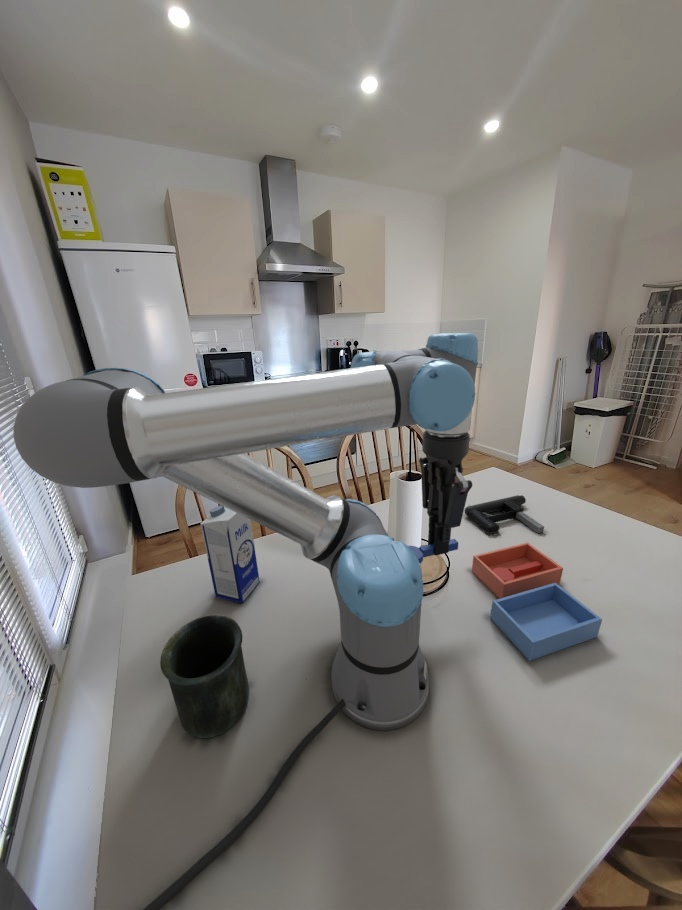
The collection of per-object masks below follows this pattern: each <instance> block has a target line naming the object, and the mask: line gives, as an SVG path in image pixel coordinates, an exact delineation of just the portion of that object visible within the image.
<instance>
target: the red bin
mask: <svg viewBox="0 0 682 910" xmlns="http://www.w3.org/2000/svg"><path fill="white" fill-rule="evenodd" d="M472 556H473V557H472V565H471V572H472V573H473V574H474V575H475V576H476V577H477V578H478V579H479V580H480V581H481V582H482V583H483V584H484V585H485V586H486V587H487V588H488V589H489V590H490V591H491V592H492V593H493V594H494V595H495V596H496V597H497V599H501V598H504V597H508V596H511V595H515V594H518V593H521V592H525V591H528V590H532V589H535V588H539V587H542V586H546V585H549V584H553V583H557V584H558V585H560V584H561V579H562V576H563V571H564V567H562V566H561V565H560V564H558V562H557V563H556V561H555V560H553V559H552V558H550V557H549V556H547V555H546V554H545V553H543V552H542V551H540V550H539V549H538V548H536V547H535V546H533V545H532V544H531V543H529V542H525V543H520V544H516V545H512V546H508V547H504V548H499V549H496V550H492V551H487V552H484V553H480V554H476V555H472ZM535 561H538V562H540V563H541V564H542V568H541V571H537V572H533V573H530V574H526V575H522V576H519V577H515V578H514V580H510V581H507V582H504V581H503V580H502V579H501V578H500V577H499V576H497V575H496V574H495V573H494V572H493V571H492V570H493V569H494V568H497V567H502V568H506V569H508V570H509V568H512V567H516V566H520V565H523V564H527V563H531V562H535Z"/></svg>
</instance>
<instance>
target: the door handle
mask: <svg viewBox="0 0 682 910" xmlns="http://www.w3.org/2000/svg"><path fill="white" fill-rule="evenodd" d="M526 502H527V499H526V497H525V496H524V495H519V494H518V495H512V496H510V497H504V498H500V499H496V500H492V501H491V500H490V501H487V502H486V501H485V502H482V503H476V504H472V505H470V504H469V505H468V506H465V507H464V515H465V516H466V517H469V518H470V519H472V520H473V521H474V522H475V523H476V524H478V525H479V526H480V528H482V529H483V530H485V531H486V532H487V533H489V534H496V533H497V532H499V531H500V526H499V524H498V523H499V522H503V521H508V520H510V519H513V520H516V519H517V520H519V521H520V522H522V523H523V524H524V525H526V526H527V527H529V528H530V529H531V530H533V531H534V532H536V533H537V534H541V533H543V532H544V530H545V526H544V525H543V524H541V523H540V522H538V521H537V520H535V519H534V518H532V517H531V516H529V515H528V514H526V513H525V512H524V507H522V506H523V505H524V504H525V503H526ZM497 511H502V513H498V514H494V515H493V514H490V513H494V512H497Z"/></svg>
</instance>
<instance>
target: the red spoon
mask: <svg viewBox="0 0 682 910" xmlns="http://www.w3.org/2000/svg"><path fill="white" fill-rule="evenodd" d="M541 568H542V564H541V563H540V562H538V561H535V562H531V563H527V564H523V565H520V566H516V567H512V568H509V570H508V569H506V568H502V567H497V568H494V569H493V570H492V571H493V572H494V573H495V574H496V575H497V576H499V577H500V578H501V579H502V580H503V581H504V582H507V581H510V580H514V578H515V577H519V576H522V575H526V574H530V573H533V572H537V571H541Z"/></svg>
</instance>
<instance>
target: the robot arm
mask: <svg viewBox="0 0 682 910" xmlns="http://www.w3.org/2000/svg"><path fill="white" fill-rule="evenodd" d="M477 337H478V336H476V335H475V334H474V333H470V332H445V333H442V332H441V333H433V334H430V335H429V336H428V337H427V341H426V344H425V347H422V348H418V349H397V350H395V349H394V350H372V351H365V352H358V353H356V354H355V355H354V356H353V358H352V360H351V363H350V368H344V369H343V368H342V369H334V370H328V371H320V372H312V373H305V374H297V375H292V376H285V377H284V376H283V377H276V378H269V379H261V380H253V381H247V382H240V383H239V382H238V383H233V384H224V385H216V386H210V387H203V388H195V389H187V390H179V391H173V392H166V391H165V389H164V388H163V386H161V384H160V383H158V382H157V381H156V380H155V379H154V378H152V377H151V376H149V375H147V374H145V373H143V372H142V371H138V370H135V369H133V368H132V369H131V368H123V367H104V368H97V369H94V370H92V371H88V372H86V373H85V374H83V375H81V376H77V377H73V378H70V379H67V380H63V381H62V380H61V381H59V382H55V383H52V384H49V385H47V386H44V387H43V388H41V389H38V390H36V391H35V392H34V393H33V394H32V395H30V396H29V397H28V398H27V399H26V400H25V401H24V402H23V403H22V405H21V406H20V408H19V409H18V412H17V413H16V416H15V419H14V423H13V441H14V444H15V448H16V450H17V452H18V454H19V455H20V457H21V459H22V461H24V462H25V464H26V465H27V466H28V467H29V468H30V469H31V470H32V471H33V472H35V473H36V474H37V475H39V476H41V477H42V478H44V479H46V480H48V481H50V482H52V483H55V484H59V485H62V486H66V487H70V488H81V489H86V488H87V489H91V488H103V487H109V486H116V485H117V486H119V485H125V484H131V483H137V482H140V481H147V480H153V479H157V478H161V477H162V478H165V479H167V480H169V481H171V482H173V483H175V484H177V485H179V486H181V487H184V488H185V489H187V490H189V491H191V492H193V493H196V494H198V495H199V496H201V497H203V498H206V499H207V500H210V501H212V502H213V503H216V504H218V505H219V506H221V505H222V506H223V507H226V508H228V509H230V510H232V511H234V512H236V513H238V514H240V515H242V516H244V517H246V518H248V519H250V520H251V522H255V523H257V524H258V525H261V526H263V527H265V528H266V529H268V530H271V531H273V532H275V533H277V534H279V535H281V536H283V537H285V538H287V539H289V540H291V541H293V542H295V543H297V544H299V545H300V548H301V549H300V550H301V552H302V555H303V556H304V557H305V558H306V559H308V560H311V561H313V562H314V563H316V564H318V565H321V566H322V567H325V568H326V569H327V570H328V572H329V574H330V578H331V582H332V587H333V589H334V594H335V596H336V600H337V604H338V610H339V623H340V626H339V627H340V642H339V644H338V648H337V650H336V654H335V656H334V658H333V660H332V665H331V671H330V675H331V677H330V678H331V688H332V694H333V696H334V699H335V701H336V705H335V706H334V707H333V708H332V709H331V710H330V711H328V713H327V714H326V715H325V716H324V717H323V718H322V719H321V720H320V721H319V722H318V724H316V725H315V727H313V728H312V729H311V730H310V731H309V732H308V734H306V736H305V737H304V738H303V739H302V740H301V741H300V742H299V743H298V744H297V746H296V747H295V749H294V750H293V751H291V753H290V755H289V756H288V757H287V759H286V761H285V762H284V763H283V765H282V766H281V767H280V769H279V771H278V773H277V774H276V776H275V778H273V780H272V782H271V783H270V785H269V786H268V788H267V790H266V791H265V792H264V794H263V795H262V796H261V797H260V799H259V800H258V802H257V803H256V804H255V805H254V806H253V807H252V808H251V810H250V811H249V812H248V813H247V814H246V815H245V817H243V819H242V820H241V821H240V822H239V823H238V824H237V825H236V826H235V827H234V828H233V829H232V830H231V831H230V832H229V833H227V834H226V835H225V836H224V837H223V838H222V839H221V840H220V841H219V842H218V843H216V844H215V845H214V846H213V847H212V848H211V849H210V850H208V851H207V852H206V853H205V854H204V855H203V856H202V857H201V858H200V859H199V860H198V861H196V862H195V863H194V864H193V865H192V866H191V867H190V868H188V869H187V870H186V871H185V872H184V873H183V874H182V875H181V876H180V877H178V879H176V880H175V881H174V882H173V883H172V884H170V885H169V886H168V887H167V888H166V889H165V890H164V891H163V892H162V893H160V894H159V895H158V896H157V897H156V898H155V899H154V900H152V901H151V902H150V903H149V904H148V905H146V906H145V907H144V908H143V909H142V910H161V909H162V908H163V907H164V906H165V905H166V904H167V903H168V902H169V901H170V900H172V898H174V897H175V896H176V895H177V894H179V892H180V891H181V890H182V889H184V888H185V887H186V886H187V885H188V884H189V883H190V882H192V881H193V880H194V879H195V878H196V876H198V875H199V874H200V873H201V872H202V871H203V870H204V869H206V867H208V866H209V865H210V864H211V863H212V862H213V861H214V860H215V859H216V858H218V857H220V855H221V854H222V853H223V852H224V851H225V850H227V849H228V848H229V846H231V845H232V844H233V843H234V841H236V840H237V839H238V838H239V837H240V836H241V835H242V833H244V831H246V829H247V828H248V827H249V826H250V825H251V824H252V823H253V822H254V820H255V819H256V818H257V817H258V816H259V815H260V813H261V812H262V811H263V810H264V808H265V807H266V806H267V804H268V803H269V802H270V800H271V799H272V797H274V795H275V793H276V791H277V790H278V788H279V787H280V785H281V784H282V782H283V780H284V779H285V777H286V775H288V772H289V770H290V769H291V768H292V766H293V765H294V764H295V762H296V760H297V759H298V758H299V756H300V755H301V754H302V753H303V751H304V750H305V749H306V747H308V745H309V744H310V743H311V742H312V741H314V739H315V738H317V736H318V735H319V734H320V733H321V732H322V731H323V729H325V728H326V726H327V725H328V724H330V723H331V721H332V720H333V719H334V718H335V717H336V716H337V715H338V714H339V712H341V711H342V712H343V713H344V714H345V715H346V716H347V717H348V718H349V719H350V720H352V721H353V722H355V723H356V724H358V725H360V726H361V727H364V728H367V729H371V730H374V731H393V730H397V729H400V728H403V727H405V726H407V725H409V724H411V723H412V722H413V721H414V720H415V719H416V718H418V717H419V715H420V714H421V713H422V711H423V710H424V708H425V706H426V704H427V700H428V697H429V692H430V674H429V669H428V664H427V661H426V659H425V658H424V655H423V652H422V650H421V647H420V634H421V619H422V618H421V617H422V603H423V602H422V601H423V597H424V580H423V571H422V566H421V563H419V560H418V558H417V556H416V555H415V553H414V552H413V551H412V550H411V549H410V548H409V547H408V546H409V545H407V544H406V543H405V542H403V541H401V540H397V541H395V538H394V537H392V536H390V535H389V534H388V532H387V531H386V529H385V527H384V524H383V522H382V520H381V519H380V517H379V516H378V515H377V513H376V512H375V511H374V510H373V509H372V508H371V507H369V505H367V504H366V503H364V502H362V501H360V500H357V499H353V498H345V499H344V498H342V497H341V496H339V495H335V494H334V495H330V496H327V497H323V496H322V495H319V494H318V493H316V492H314V491H313V490H310V489H309V488H307V487H306V486H303V485H302V484H300V483H298V482H296V481H294V480H293V479H291V478H290V477H287V476H286V475H284V474H283V473H281V472H279V471H277V470H276V469H274V468H272V467H270V466H268V465H266V464H265V463H263V462H261V461H259V460H258V459H256V458H254V457H252V456H251V455H249V454H247V453H254V452H259V451H265V450H272V449H278V448H284V447H290V446H294V445H295V446H296V445H300V444H307V443H313V442H318V441H324V440H331V439H336V438H342V437H348V436H355V435H360V434H367V433H372V432H377V431H378V432H379V431H384V430H389V429H396V428H402V427H409V426H415V425H417V426H418V427H420V428H421V429H423V430H424V431H423V433H422V447H421V448H422V452H423V454H424V455H426V456H425V457H424V456H423V457H419V459H418V462H419V466H420V477H421V478H420V479H421V498H422V499H421V501H422V508H423V509H426V513H427V516H428V536H427V537H428V538H427V545H429V544H433V543H434V555H433V556H435V557H437V556H441V555H444V554H448V553H449V552H448V550H449V541H450V540H451V534H452V529H453V528H458V527H461V524H462V519H463V514H464V512H465V508H466V504H467V498H468V493H469V492H470V490H472V488H473V482H472V480H471V479H468V480H466V478H465V477H464V476H463V471H464V469H463V459H464V458H465V457H466V456H468V454H469V451H470V450H469V449H470V439H471V435H470V433H469V432H470V431H471V425H472V424H471V423H472V411H473V408H474V404H475V401H476V394H477V393H476V375H477V368H478V364H479V361H478V357H479V356H478V355H479V347H478V346H479V345H478V343H479V341H478V338H477Z"/></svg>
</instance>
